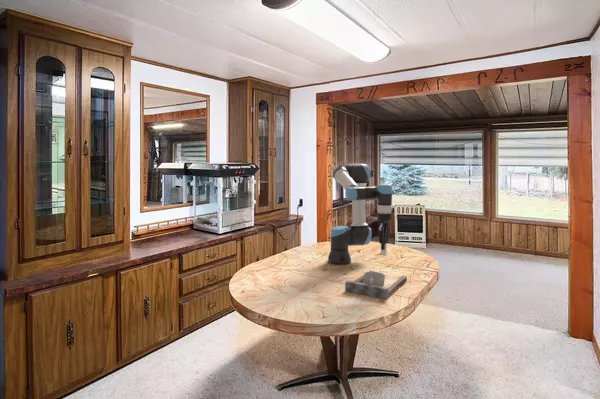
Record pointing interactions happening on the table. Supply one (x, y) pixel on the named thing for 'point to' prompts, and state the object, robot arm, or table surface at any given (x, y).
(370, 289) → the guide track
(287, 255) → the table surface
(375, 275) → the teacup
